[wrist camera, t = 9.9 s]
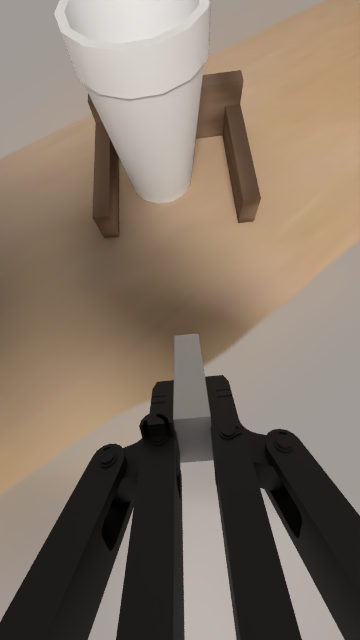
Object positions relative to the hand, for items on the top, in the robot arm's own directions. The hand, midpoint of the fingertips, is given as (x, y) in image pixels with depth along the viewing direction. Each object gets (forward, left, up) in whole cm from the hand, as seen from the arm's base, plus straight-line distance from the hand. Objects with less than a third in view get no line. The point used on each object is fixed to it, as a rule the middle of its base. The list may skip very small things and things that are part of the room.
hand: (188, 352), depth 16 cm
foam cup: (-1, +20, -5) cm, 21 cm away
